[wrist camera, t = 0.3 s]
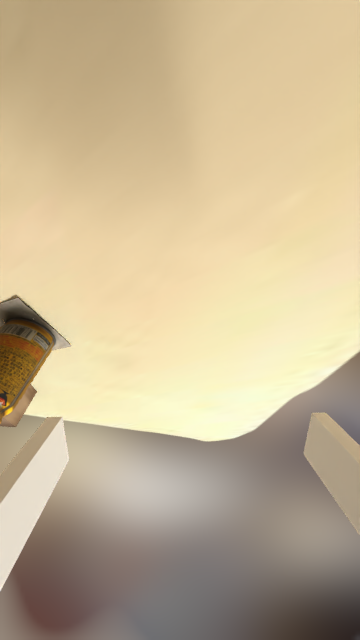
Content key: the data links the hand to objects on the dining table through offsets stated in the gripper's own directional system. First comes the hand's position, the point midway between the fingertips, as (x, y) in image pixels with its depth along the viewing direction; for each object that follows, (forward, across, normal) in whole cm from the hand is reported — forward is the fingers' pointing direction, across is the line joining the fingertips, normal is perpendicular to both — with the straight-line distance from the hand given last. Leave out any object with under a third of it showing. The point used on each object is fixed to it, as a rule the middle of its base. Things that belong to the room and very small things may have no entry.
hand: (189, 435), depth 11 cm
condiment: (+17, -19, +1) cm, 26 cm away
